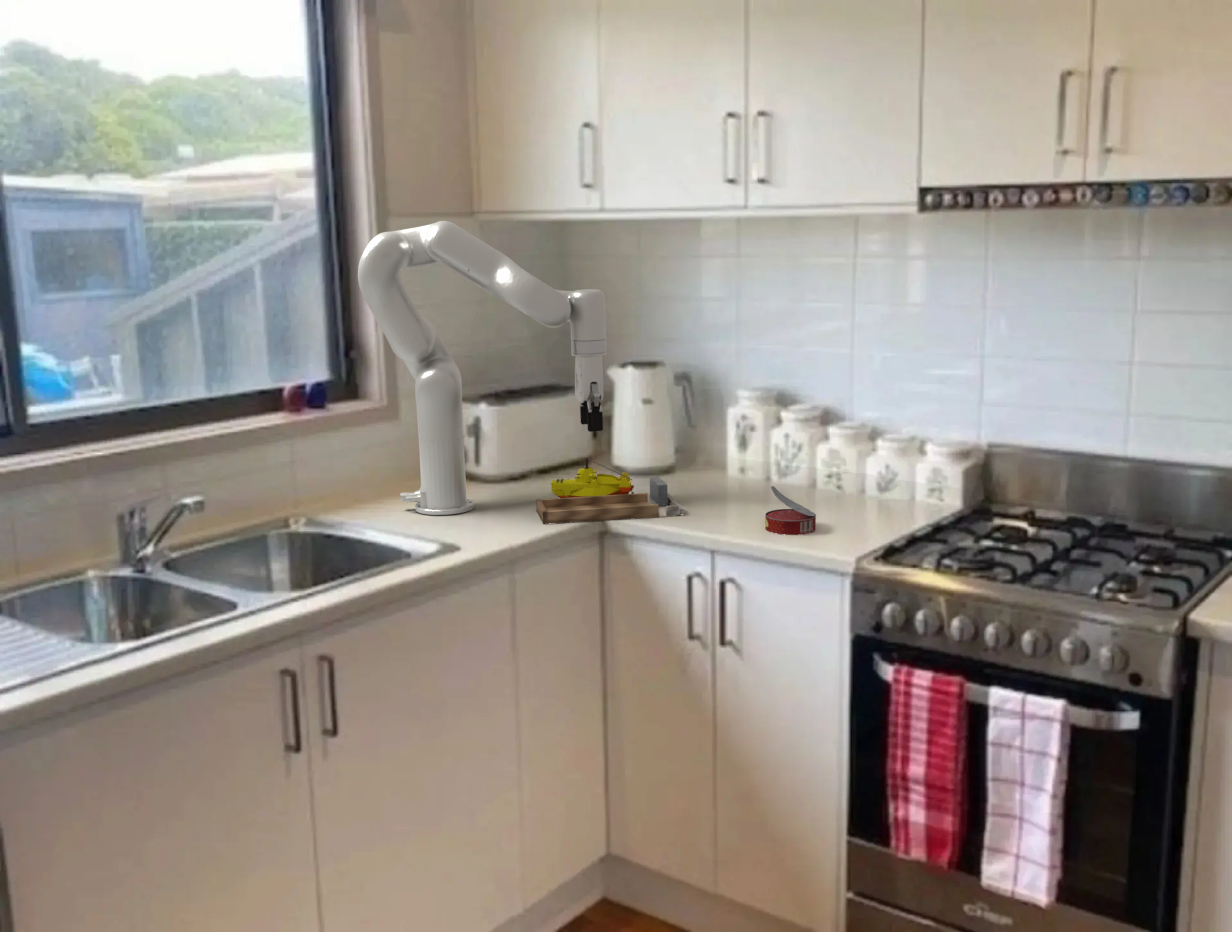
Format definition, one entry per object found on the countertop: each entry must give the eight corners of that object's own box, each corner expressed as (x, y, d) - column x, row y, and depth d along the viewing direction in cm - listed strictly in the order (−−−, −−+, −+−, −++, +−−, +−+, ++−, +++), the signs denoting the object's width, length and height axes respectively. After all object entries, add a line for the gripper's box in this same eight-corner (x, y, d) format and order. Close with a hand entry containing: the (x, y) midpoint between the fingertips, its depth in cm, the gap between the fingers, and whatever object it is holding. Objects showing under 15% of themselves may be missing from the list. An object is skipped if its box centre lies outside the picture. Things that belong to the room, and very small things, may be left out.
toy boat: (634, 505, 260) (633, 460, 258) (550, 506, 260) (549, 461, 259) (634, 498, 266) (633, 454, 264) (552, 500, 267) (551, 455, 265)
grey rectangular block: (658, 505, 258) (658, 485, 257) (649, 496, 267) (649, 476, 266) (667, 505, 259) (667, 484, 258) (658, 496, 267) (658, 476, 267)
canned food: (780, 545, 243) (790, 498, 245) (822, 548, 236) (832, 500, 238) (747, 529, 236) (758, 480, 238) (789, 531, 228) (800, 481, 231)
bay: (543, 524, 245) (542, 512, 244) (531, 502, 265) (531, 491, 264) (684, 515, 250) (684, 503, 249) (663, 494, 270) (663, 483, 269)
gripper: (565, 345, 265) (568, 422, 268) (577, 353, 248) (580, 435, 251) (599, 343, 266) (602, 420, 269) (613, 351, 249) (616, 432, 252)
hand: (591, 427), depth 260 cm, fingers open, 9 cm apart
